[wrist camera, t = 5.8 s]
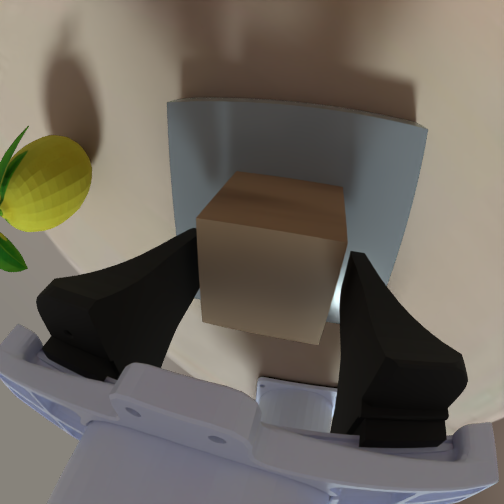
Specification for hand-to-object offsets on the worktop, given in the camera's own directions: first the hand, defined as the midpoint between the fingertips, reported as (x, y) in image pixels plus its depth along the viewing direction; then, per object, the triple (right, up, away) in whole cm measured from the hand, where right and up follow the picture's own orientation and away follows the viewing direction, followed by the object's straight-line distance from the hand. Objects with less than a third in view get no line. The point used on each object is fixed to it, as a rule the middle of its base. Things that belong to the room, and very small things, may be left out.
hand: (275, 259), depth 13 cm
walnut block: (+1, +2, +2) cm, 3 cm away
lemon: (-12, +7, +5) cm, 15 cm away
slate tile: (+1, +3, +4) cm, 5 cm away
